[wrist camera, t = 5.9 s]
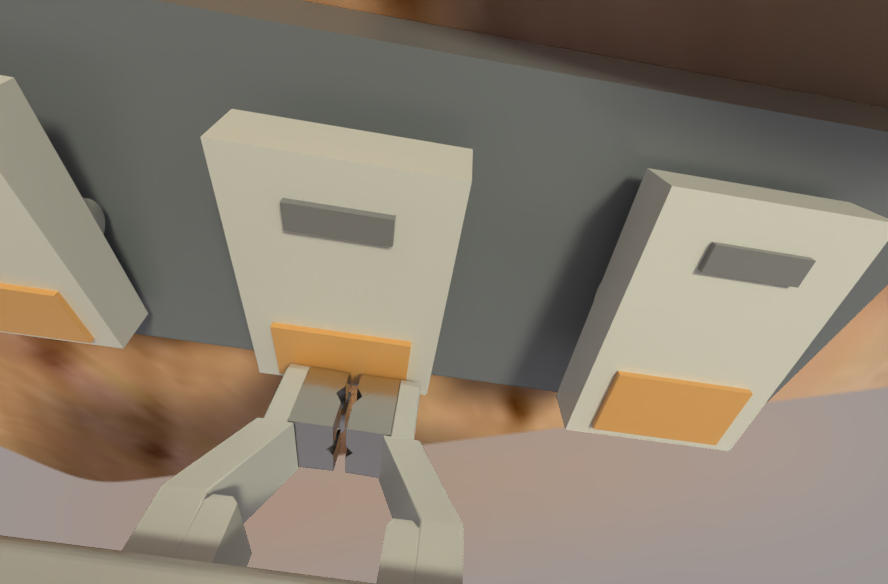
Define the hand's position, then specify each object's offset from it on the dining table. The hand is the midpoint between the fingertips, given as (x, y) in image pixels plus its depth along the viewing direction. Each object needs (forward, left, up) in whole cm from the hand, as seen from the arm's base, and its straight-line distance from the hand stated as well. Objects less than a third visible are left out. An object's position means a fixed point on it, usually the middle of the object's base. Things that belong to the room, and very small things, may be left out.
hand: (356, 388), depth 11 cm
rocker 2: (0, +3, -1) cm, 3 cm away
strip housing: (0, +3, -5) cm, 6 cm away
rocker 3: (+8, +3, -1) cm, 8 cm away
